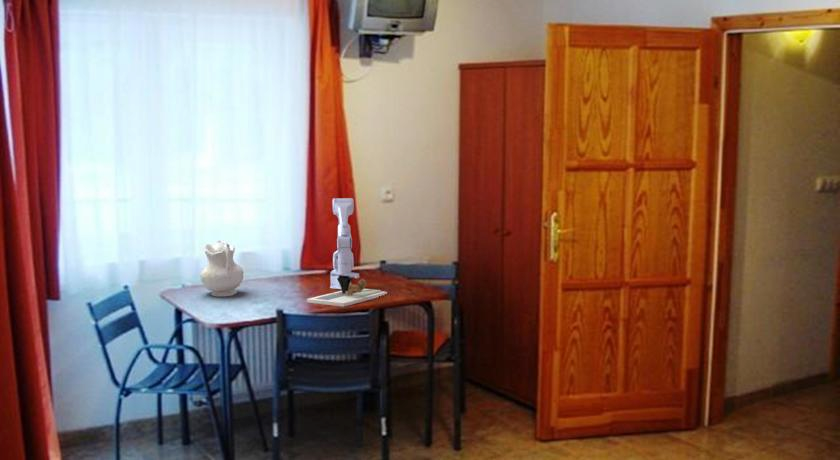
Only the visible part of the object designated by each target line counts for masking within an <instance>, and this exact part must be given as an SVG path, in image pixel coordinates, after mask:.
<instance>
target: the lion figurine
mask: <svg viewBox="0 0 840 460" xmlns="http://www.w3.org/2000/svg"><path fill="white" fill-rule="evenodd" d="M366 286H367V282H366V280H365V279H360V280H359V281H358V282H356V283H355V284H352V283H351V284H349V288H348V290H353V292H356V293H358V292H362V291H361V290H363V289H366ZM343 294H344V295H345V293H343Z"/></svg>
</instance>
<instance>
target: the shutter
mask: <svg viewBox="0 0 840 460" xmlns="http://www.w3.org/2000/svg"><path fill="white" fill-rule="evenodd" d="M369 289H370V290H366V291H361V292H358V293H357V292H354V291H353V290H348V291H345V297H351V298H359V297H362V296H366V295H370V294H374V293H378V292H381V291H382V290H380V289H371V288H369Z"/></svg>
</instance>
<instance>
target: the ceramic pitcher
mask: <svg viewBox="0 0 840 460" xmlns="http://www.w3.org/2000/svg"><path fill="white" fill-rule="evenodd" d="M235 251H236V248H235V247H234V246H233V245H230V244H228V242H226V241H224V240H218V241H216V243H215V244H214V245H212V244H211V243H206V244H205V245H204V253H205V255H206V257H207V265H206V266H205V267H204V268H203V269H202V270H201V272H200V281H201V283H202V285H203V287H204V288H205V289H207V290H208V291H210V292H212V293H211V296H214V297H230V296H234V295H236V294H238V291H237V290H236V289H237V288H238V287H239V286H240V285H241V284H242V283H243V280H244V270H243V268H242V266H240V265H239V264H237V263H236V262H235V261H234V254H235Z"/></svg>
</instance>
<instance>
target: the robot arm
mask: <svg viewBox="0 0 840 460" xmlns="http://www.w3.org/2000/svg"><path fill="white" fill-rule="evenodd" d="M354 206H355V203H354V199H353V198H352V197H351V198H349V197H346V198H344V197H343V198H337V197H336V198H335V197H334V198H332V213H333V215H335V216H336V217H337V218H338V225H337V238H336V242H337V243H336V244H337V245H336V247H337V250H336V251H334V252H333V255H332V266H333V267H332V268H333V270H331V271H330V287H329V288H330V289H332V290H333V289H335V290H341V291H342V293H345V291H348V288H349V284H351V285H352V280H353V278H354V279H359V278H360V273H358V272H352V270H353V269H354V263H355V262H354V261H355V260H354V253H353V252H352V248H353V238H352V234H351V225H350V224H349V223H348V222H349V220H348V219H349V216H351V215H353V213H354V210H355V207H354Z"/></svg>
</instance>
